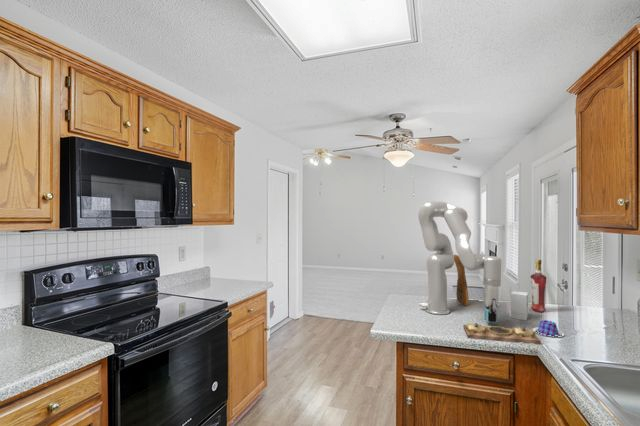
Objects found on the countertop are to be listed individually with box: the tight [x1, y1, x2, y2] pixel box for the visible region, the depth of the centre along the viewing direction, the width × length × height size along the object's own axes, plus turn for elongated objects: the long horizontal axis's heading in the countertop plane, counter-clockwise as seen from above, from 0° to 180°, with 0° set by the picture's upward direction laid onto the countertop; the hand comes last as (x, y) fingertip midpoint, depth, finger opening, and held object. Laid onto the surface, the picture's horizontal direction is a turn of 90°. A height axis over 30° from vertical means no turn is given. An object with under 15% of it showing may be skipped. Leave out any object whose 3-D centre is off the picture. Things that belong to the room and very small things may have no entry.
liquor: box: [530, 259, 547, 313], centre depth 186 cm, size 7×7×28 cm
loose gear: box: [483, 307, 499, 323], centre depth 165 cm, size 6×6×5 cm
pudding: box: [531, 319, 565, 338], centre depth 154 cm, size 12×12×5 cm
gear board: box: [462, 322, 542, 345], centre depth 151 cm, size 28×13×4 cm, turn 75°
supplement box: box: [510, 290, 529, 321], centre depth 176 cm, size 7×7×13 cm
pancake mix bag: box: [453, 254, 470, 307], centre depth 203 cm, size 7×19×28 cm, turn 168°
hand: (490, 318), depth 165 cm, fingers closed on loose gear, 5 cm apart
